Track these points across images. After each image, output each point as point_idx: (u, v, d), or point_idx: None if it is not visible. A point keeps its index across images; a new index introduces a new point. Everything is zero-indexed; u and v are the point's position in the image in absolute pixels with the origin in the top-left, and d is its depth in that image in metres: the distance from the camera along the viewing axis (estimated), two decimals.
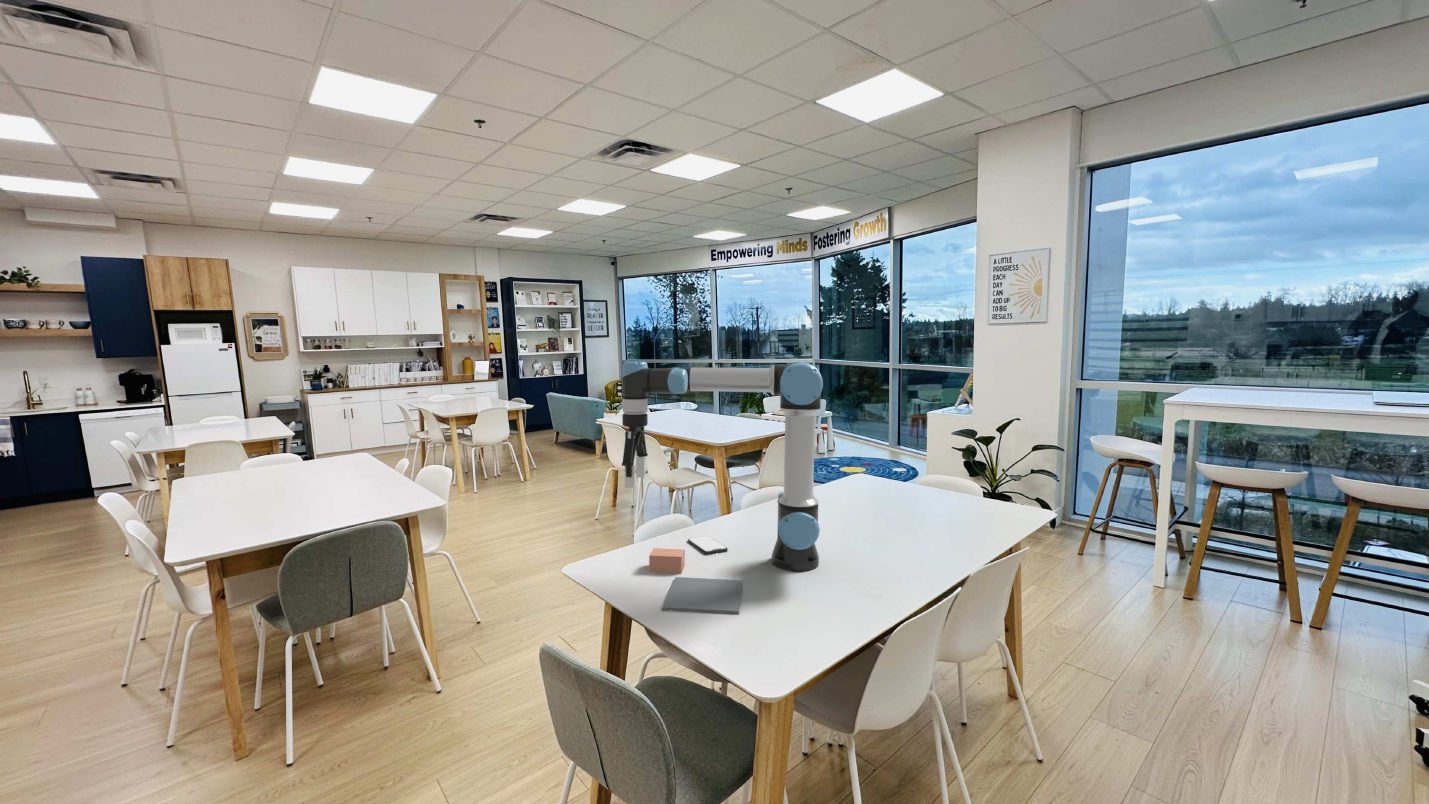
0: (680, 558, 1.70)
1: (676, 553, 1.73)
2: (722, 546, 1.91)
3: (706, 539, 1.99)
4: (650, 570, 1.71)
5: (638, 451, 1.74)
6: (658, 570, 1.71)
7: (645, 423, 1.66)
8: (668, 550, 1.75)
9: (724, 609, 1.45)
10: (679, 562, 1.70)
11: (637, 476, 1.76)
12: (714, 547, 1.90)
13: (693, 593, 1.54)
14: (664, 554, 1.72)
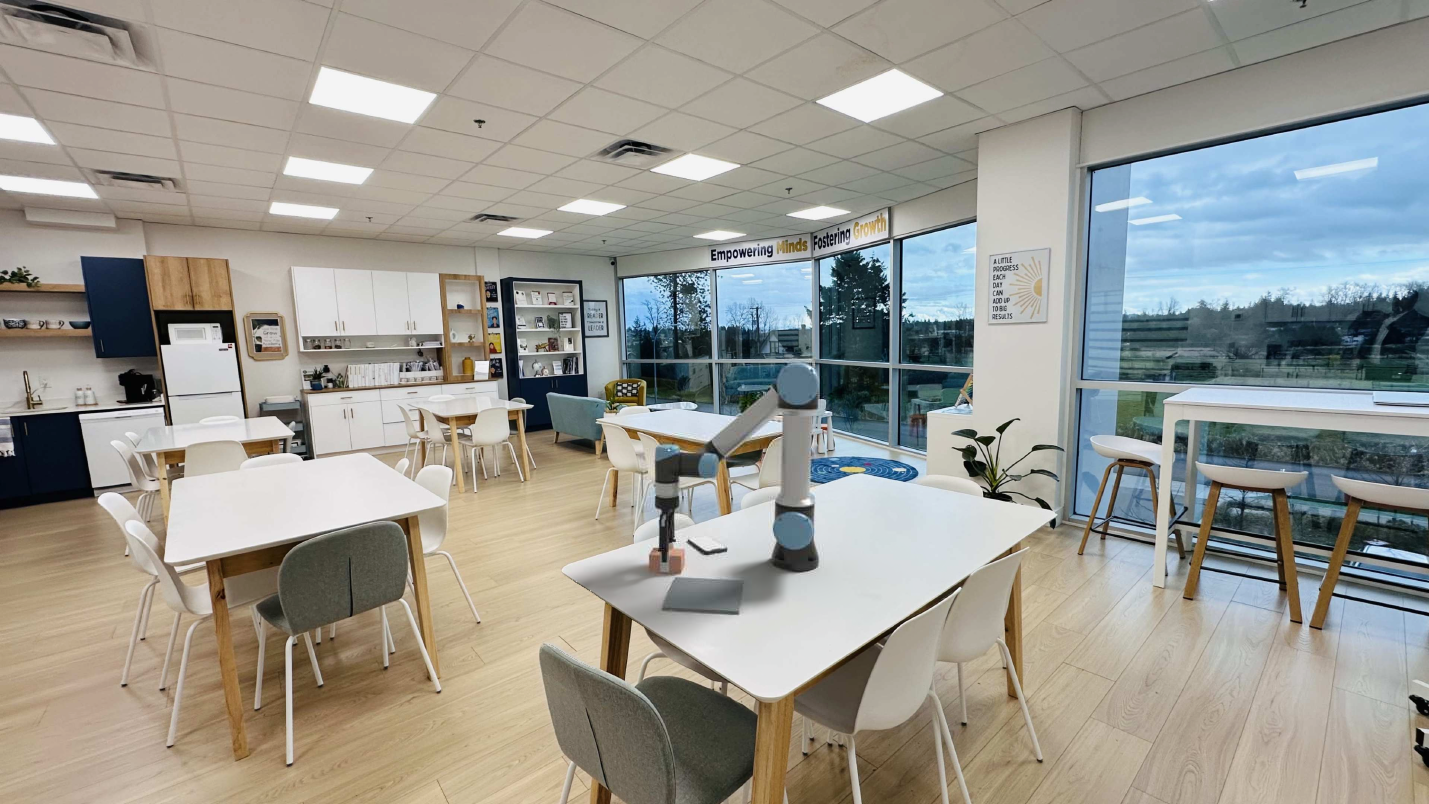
0: (680, 557, 1.70)
1: (675, 552, 1.73)
2: (722, 546, 1.91)
3: (706, 538, 2.00)
4: (650, 569, 1.71)
5: None
6: (658, 569, 1.71)
7: (677, 505, 1.70)
8: None
9: (724, 609, 1.45)
10: (679, 561, 1.70)
11: None
12: (714, 547, 1.90)
13: (693, 593, 1.54)
14: None
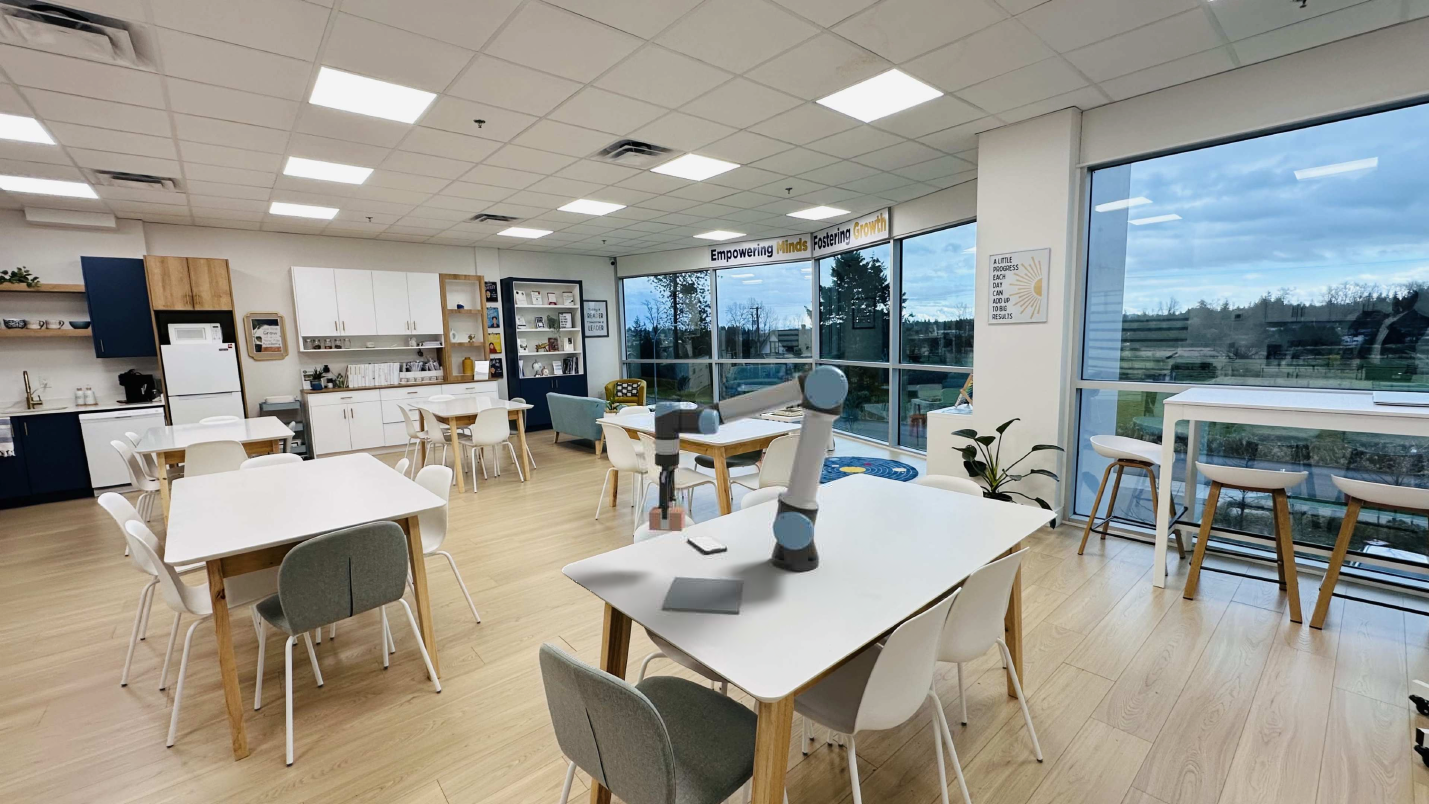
0: (680, 515, 1.69)
1: (676, 510, 1.72)
2: (722, 546, 1.91)
3: (706, 538, 2.00)
4: (650, 527, 1.70)
5: None
6: (658, 527, 1.70)
7: (677, 462, 1.69)
8: None
9: (724, 609, 1.45)
10: (679, 518, 1.69)
11: None
12: (714, 547, 1.90)
13: (693, 593, 1.54)
14: None
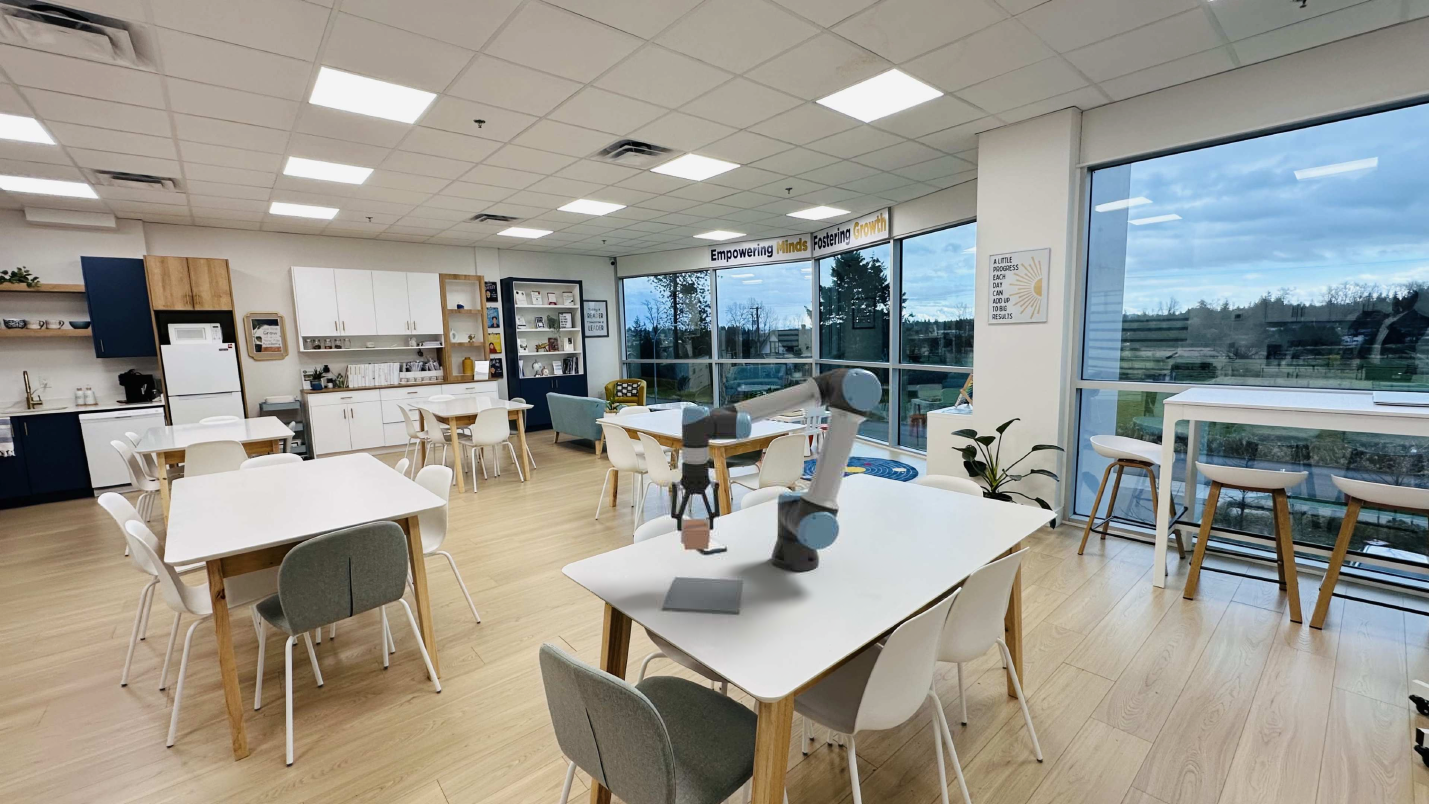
0: (685, 531, 1.53)
1: (694, 527, 1.55)
2: (722, 546, 1.91)
3: None
4: None
5: (706, 509, 1.58)
6: None
7: (692, 474, 1.53)
8: (701, 524, 1.58)
9: (724, 609, 1.45)
10: (684, 535, 1.53)
11: None
12: (714, 547, 1.90)
13: (693, 593, 1.54)
14: (689, 523, 1.58)
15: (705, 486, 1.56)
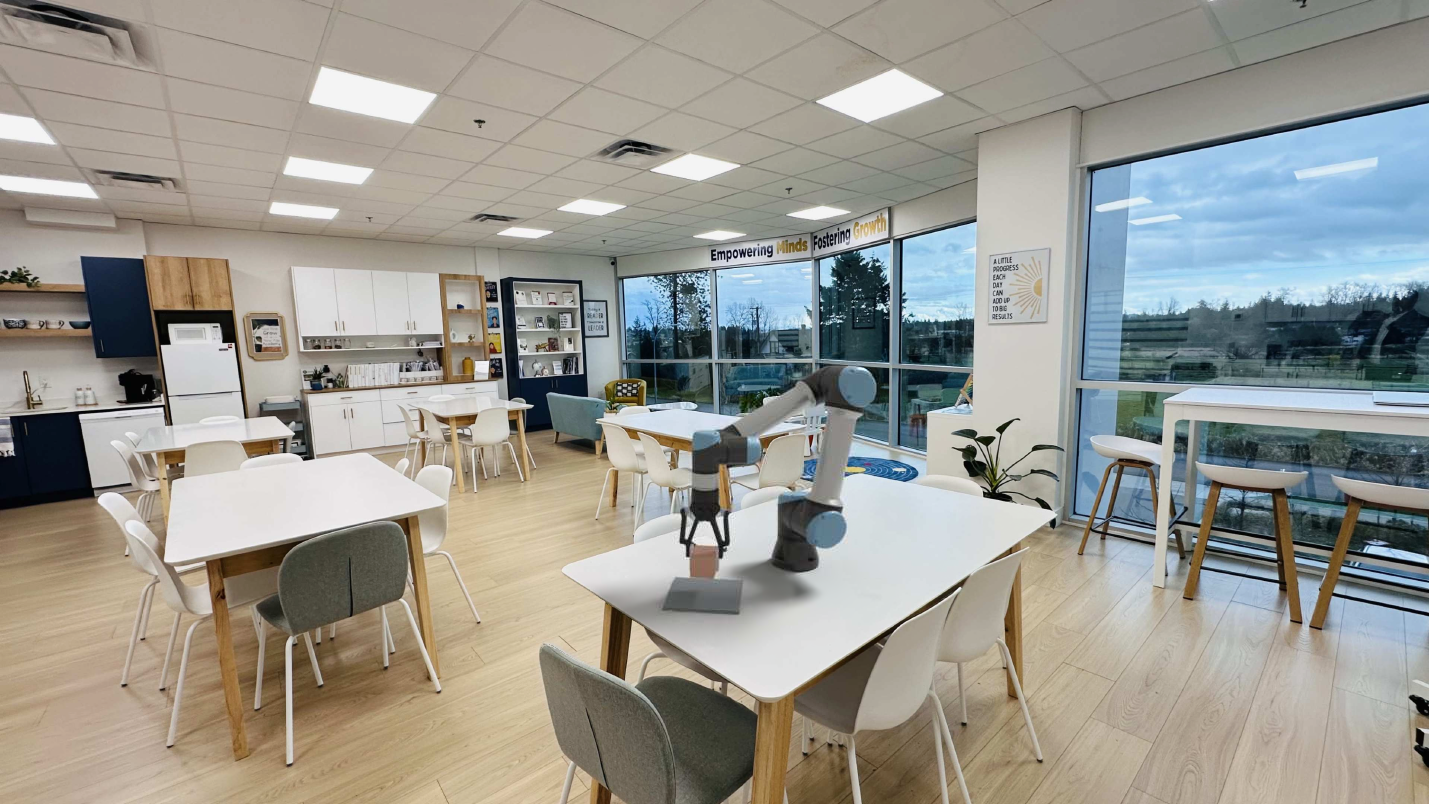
0: (690, 559, 1.49)
1: (701, 555, 1.51)
2: None
3: (705, 538, 2.00)
4: None
5: None
6: None
7: (699, 501, 1.49)
8: (711, 552, 1.53)
9: (724, 609, 1.45)
10: (690, 563, 1.49)
11: None
12: None
13: (693, 593, 1.54)
14: (699, 550, 1.54)
15: (714, 513, 1.51)
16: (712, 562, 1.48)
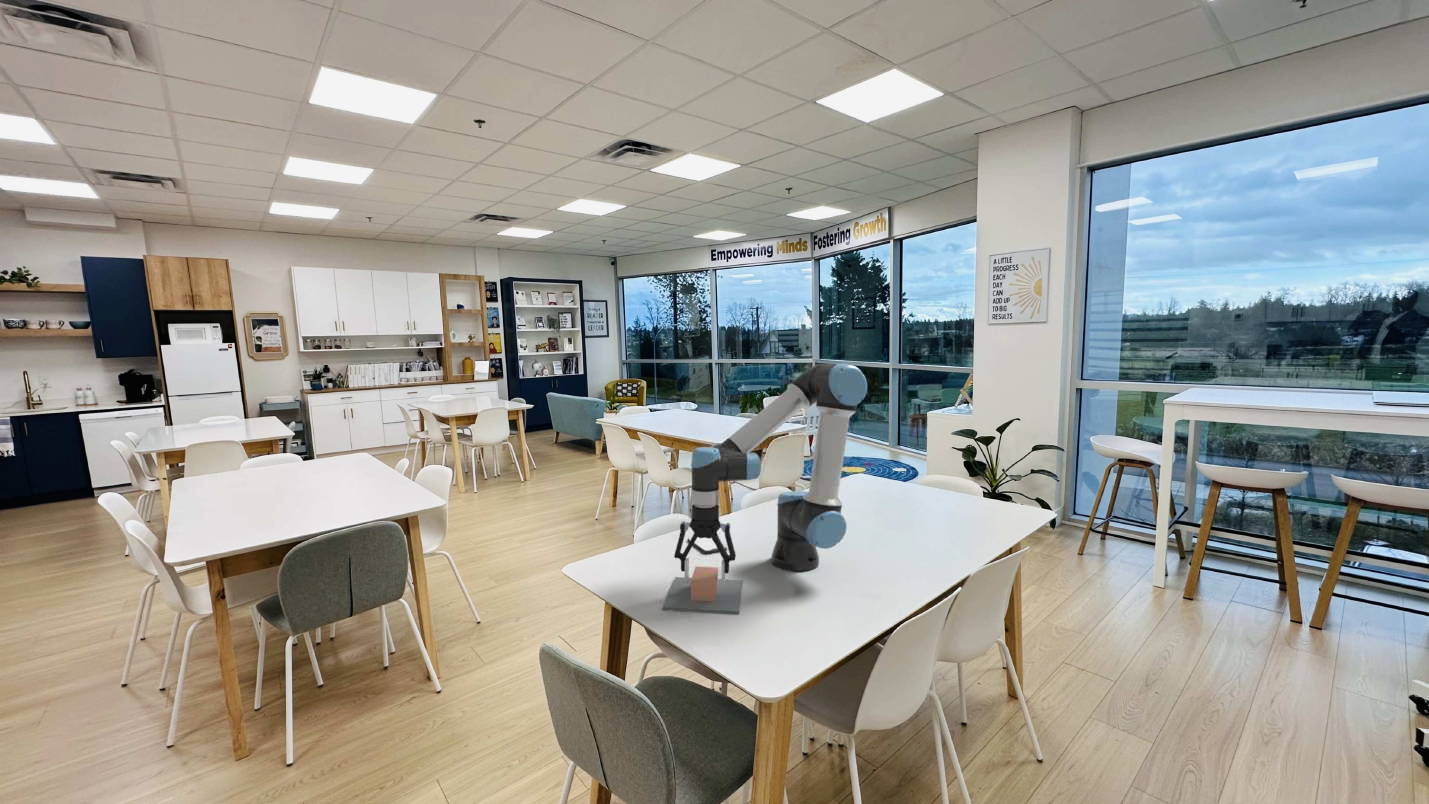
0: (691, 581, 1.50)
1: (702, 577, 1.51)
2: None
3: (706, 538, 2.00)
4: None
5: None
6: None
7: (699, 518, 1.49)
8: (711, 574, 1.54)
9: (724, 609, 1.45)
10: (691, 585, 1.50)
11: None
12: (714, 547, 1.90)
13: None
14: (699, 572, 1.55)
15: (714, 530, 1.52)
16: (713, 585, 1.49)
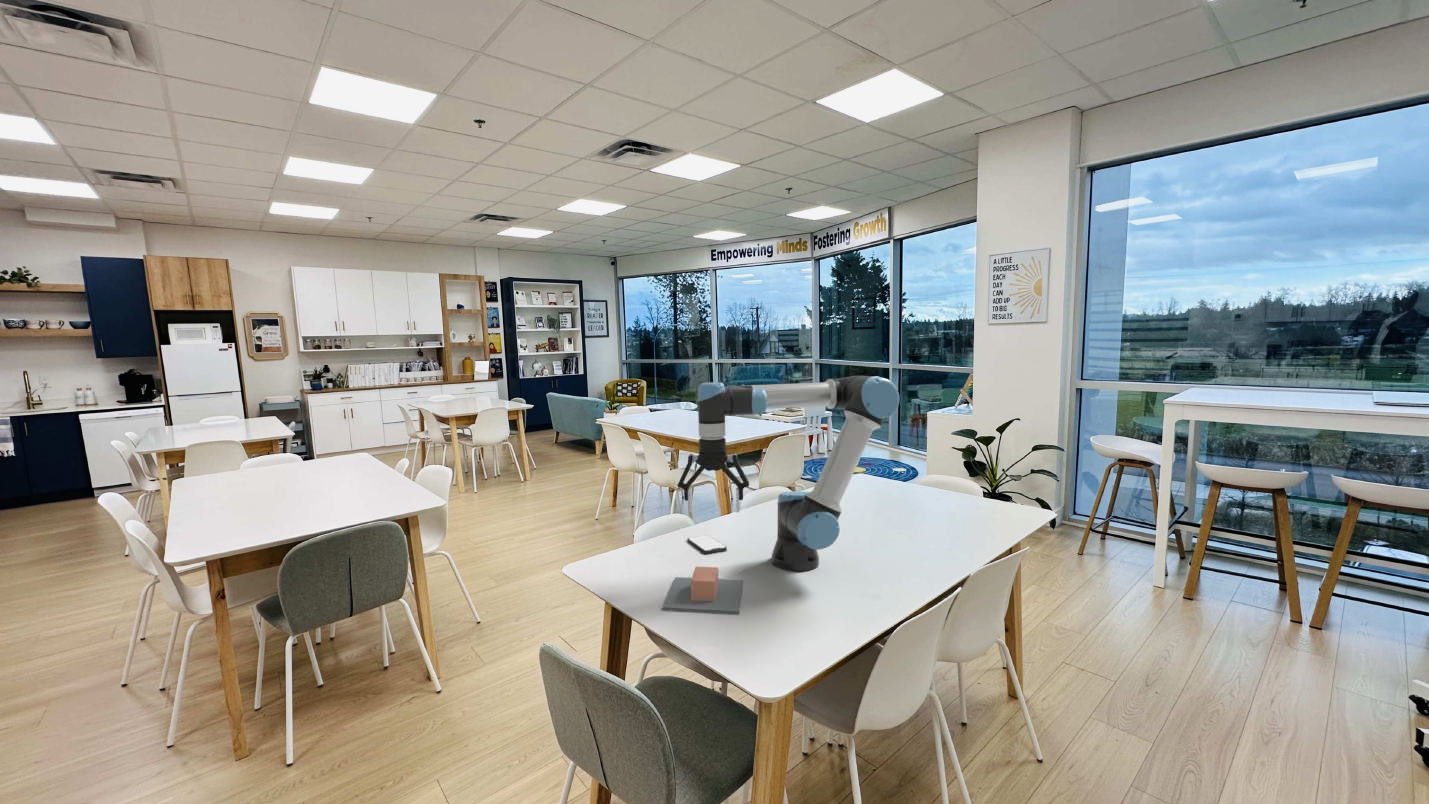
0: (691, 581, 1.50)
1: (702, 577, 1.51)
2: (721, 545, 1.92)
3: (705, 538, 2.00)
4: None
5: None
6: None
7: (707, 450, 1.53)
8: (711, 574, 1.54)
9: (724, 609, 1.45)
10: (691, 585, 1.50)
11: None
12: (714, 547, 1.90)
13: None
14: (699, 572, 1.55)
15: (722, 462, 1.56)
16: (713, 585, 1.49)
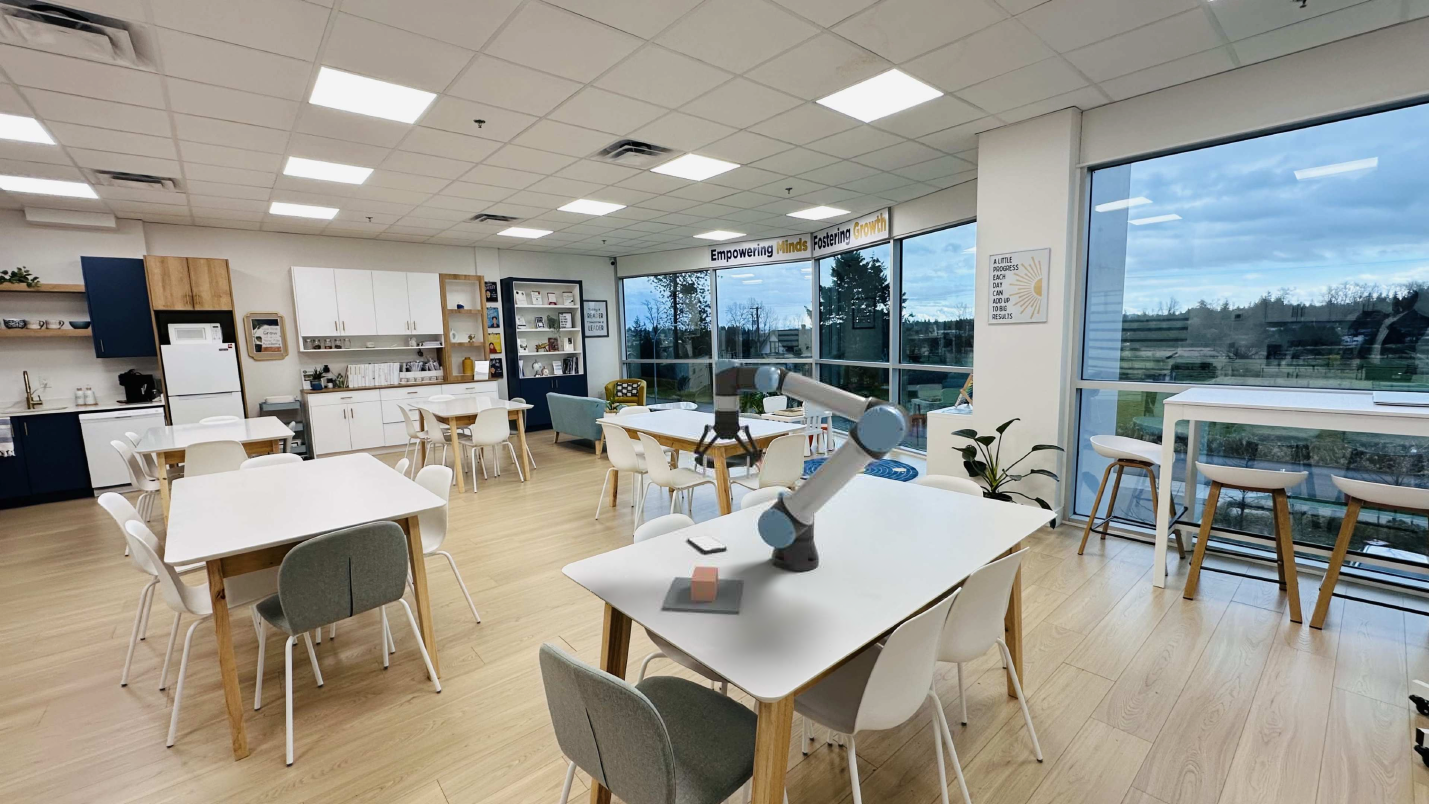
0: (691, 581, 1.50)
1: (702, 577, 1.51)
2: (721, 545, 1.92)
3: (705, 538, 2.00)
4: None
5: None
6: None
7: (721, 420, 1.69)
8: (711, 574, 1.54)
9: (724, 609, 1.45)
10: (691, 585, 1.50)
11: None
12: (714, 546, 1.90)
13: None
14: (699, 572, 1.55)
15: (735, 432, 1.71)
16: (713, 585, 1.49)
